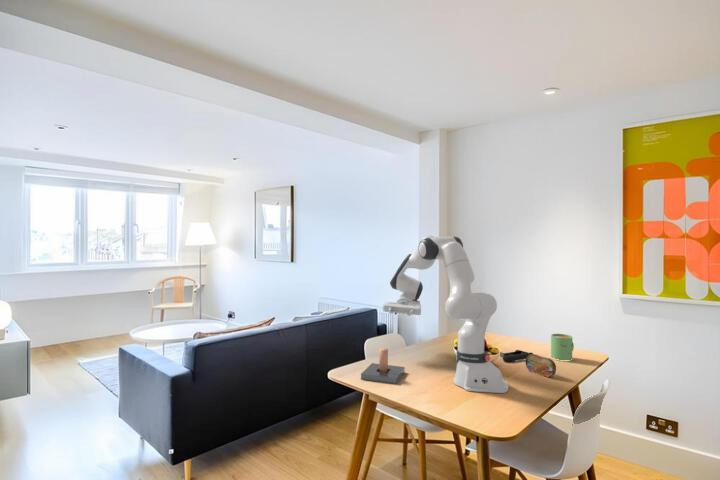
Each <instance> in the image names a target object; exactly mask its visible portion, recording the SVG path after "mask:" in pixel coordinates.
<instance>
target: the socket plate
mask: <svg viewBox="0 0 720 480" xmlns="http://www.w3.org/2000/svg"><path fill="white" fill-rule="evenodd" d="M405 370H406V367H405V366H400V365H398V366H397V365H389V364H388V373H385V372H379V363H374V362H371V364H369V366H367V367H366V368H365V369H364V370H363V371H362V372H361V373H360V380H365V381H372V382H376V383H377V382H378V383H386V384H393V385H397V383H398V382H399V381H400V380H401V378H402V377H403V376H404V374H405V372H406V371H405Z"/></svg>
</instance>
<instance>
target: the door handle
mask: <svg viewBox="0 0 720 480" xmlns="http://www.w3.org/2000/svg"><path fill="white" fill-rule="evenodd" d="M499 352H500V356H499V357H502V360H503V362H504V363H508V362H509V363H510V361H511V362H515V361H516V362H520V361H519V360H522V361H525V360H524V359H526V357H527V356H528V355H530V354H534V352H528V351H523V350H520V349H516V350H514V351H511V352H501V351H499Z"/></svg>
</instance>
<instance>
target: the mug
mask: <svg viewBox="0 0 720 480" xmlns="http://www.w3.org/2000/svg"><path fill="white" fill-rule="evenodd" d="M574 346H575V345H574V341H573V336H572V335H569V334H564V333H551V334H550V358H551V357H552V358H555V359H559V360H571V359H572V360H573V352H574ZM552 358H551V359H552Z"/></svg>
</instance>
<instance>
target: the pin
mask: <svg viewBox="0 0 720 480" xmlns="http://www.w3.org/2000/svg"><path fill="white" fill-rule="evenodd" d="M378 364H379V372H385V373H388V365H389V349H388V348H386V347H381V348H379V349H378Z"/></svg>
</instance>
